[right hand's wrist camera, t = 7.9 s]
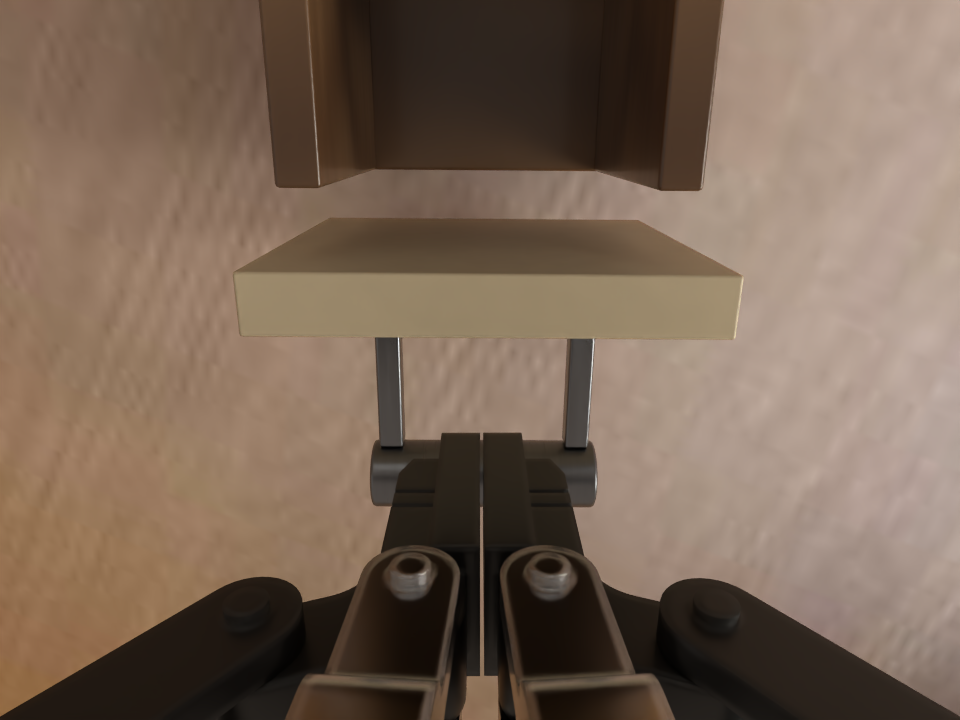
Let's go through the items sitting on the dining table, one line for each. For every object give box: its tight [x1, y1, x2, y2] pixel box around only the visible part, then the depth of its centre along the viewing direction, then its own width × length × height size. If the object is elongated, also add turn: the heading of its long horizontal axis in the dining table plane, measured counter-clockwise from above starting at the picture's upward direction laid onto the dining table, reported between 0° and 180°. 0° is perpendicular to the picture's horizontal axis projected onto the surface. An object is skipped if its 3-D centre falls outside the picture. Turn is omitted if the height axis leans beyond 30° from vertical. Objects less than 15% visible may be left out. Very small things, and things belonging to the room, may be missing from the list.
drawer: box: [233, 0, 743, 507], centre depth 14 cm, size 23×9×8 cm, turn 179°
